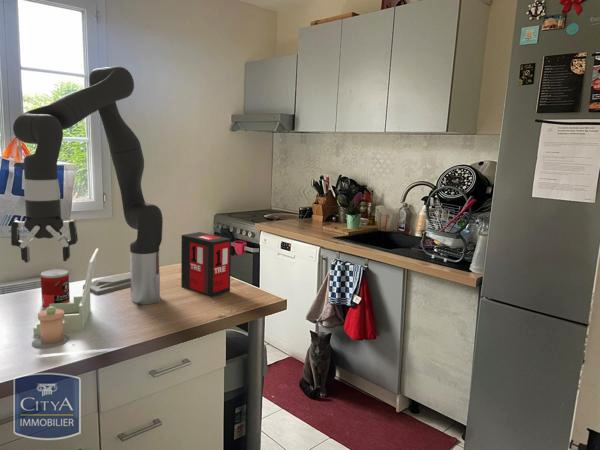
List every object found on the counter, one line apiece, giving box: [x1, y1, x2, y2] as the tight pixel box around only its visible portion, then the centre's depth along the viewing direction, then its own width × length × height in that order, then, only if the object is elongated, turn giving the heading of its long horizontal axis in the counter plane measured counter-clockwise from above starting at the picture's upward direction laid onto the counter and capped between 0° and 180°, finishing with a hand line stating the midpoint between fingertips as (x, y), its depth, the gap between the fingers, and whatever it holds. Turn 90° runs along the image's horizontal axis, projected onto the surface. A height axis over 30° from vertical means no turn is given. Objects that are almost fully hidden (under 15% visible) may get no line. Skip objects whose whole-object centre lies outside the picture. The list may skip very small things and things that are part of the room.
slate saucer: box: [31, 334, 70, 350], centre depth 114 cm, size 8×8×1 cm
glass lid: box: [81, 248, 99, 304], centre depth 127 cm, size 12×16×1 cm
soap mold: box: [82, 273, 131, 296], centre depth 162 cm, size 10×20×4 cm, turn 144°
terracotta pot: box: [37, 306, 65, 345], centre depth 114 cm, size 6×6×9 cm
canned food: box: [40, 268, 71, 309], centre depth 139 cm, size 8×8×11 cm
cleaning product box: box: [180, 231, 232, 298], centre depth 161 cm, size 16×9×20 cm, turn 54°
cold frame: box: [33, 289, 92, 336], centre depth 126 cm, size 12×16×8 cm
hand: (46, 261), depth 111 cm, fingers open, 8 cm apart
